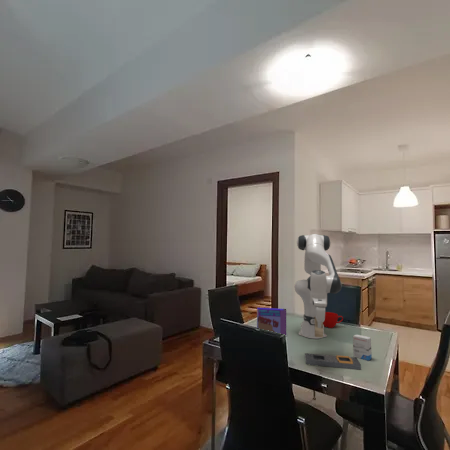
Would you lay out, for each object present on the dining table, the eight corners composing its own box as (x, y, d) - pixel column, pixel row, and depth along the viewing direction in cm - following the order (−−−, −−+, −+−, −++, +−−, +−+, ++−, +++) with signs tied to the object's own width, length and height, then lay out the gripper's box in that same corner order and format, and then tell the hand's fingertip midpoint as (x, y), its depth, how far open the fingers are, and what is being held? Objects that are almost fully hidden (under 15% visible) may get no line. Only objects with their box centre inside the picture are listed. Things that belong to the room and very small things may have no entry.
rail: (304, 357, 165) (304, 352, 165) (356, 362, 160) (356, 356, 160) (306, 364, 155) (306, 359, 155) (360, 369, 150) (360, 364, 150)
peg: (314, 334, 162) (314, 316, 163) (322, 335, 161) (322, 316, 162) (315, 336, 158) (315, 317, 159) (323, 337, 157) (322, 318, 158)
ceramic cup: (345, 329, 223) (345, 316, 223) (321, 328, 225) (321, 315, 226) (341, 325, 235) (341, 312, 236) (319, 324, 238) (319, 311, 239)
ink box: (372, 358, 165) (371, 337, 166) (368, 361, 162) (368, 339, 162) (356, 354, 171) (356, 333, 172) (352, 356, 168) (352, 335, 169)
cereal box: (256, 349, 177) (257, 308, 179) (257, 346, 182) (257, 307, 184) (286, 351, 175) (286, 310, 177) (285, 348, 180) (285, 308, 181)
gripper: (310, 297, 172) (311, 321, 171) (314, 303, 152) (314, 331, 151) (322, 297, 171) (322, 321, 170) (327, 304, 151) (327, 331, 150)
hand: (318, 326), depth 160 cm, fingers closed on peg, 4 cm apart
